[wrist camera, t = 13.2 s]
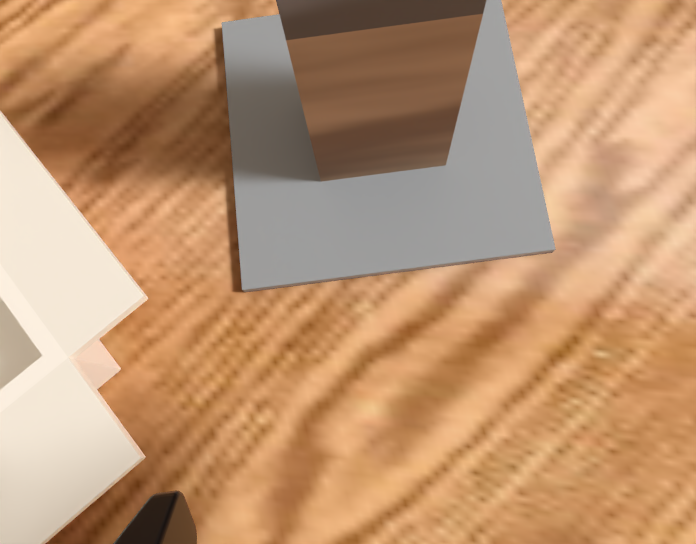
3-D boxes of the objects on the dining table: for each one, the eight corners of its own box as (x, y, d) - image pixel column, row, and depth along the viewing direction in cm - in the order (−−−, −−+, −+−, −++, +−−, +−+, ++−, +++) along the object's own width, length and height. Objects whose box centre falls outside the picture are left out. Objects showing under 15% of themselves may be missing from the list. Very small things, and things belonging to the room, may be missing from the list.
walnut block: (445, 165, 24) (507, -86, 12) (320, 181, 24) (263, -52, 12) (430, 77, 25) (474, -233, 13) (310, 92, 25) (249, -200, 13)
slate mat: (552, 252, 23) (555, 249, 23) (244, 292, 23) (242, 290, 23) (495, -10, 26) (497, -16, 26) (224, 28, 26) (221, 22, 26)
